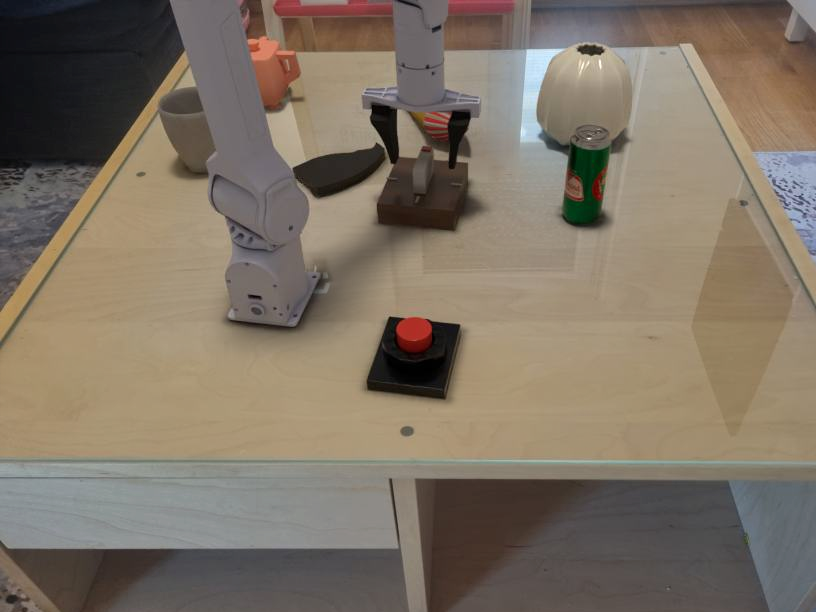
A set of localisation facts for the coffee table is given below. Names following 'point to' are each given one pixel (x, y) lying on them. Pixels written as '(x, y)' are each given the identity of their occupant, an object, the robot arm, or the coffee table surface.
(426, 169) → the dial knob
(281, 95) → the teapot
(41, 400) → the coffee table surface
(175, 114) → the mug
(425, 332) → the button
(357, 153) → the fan shaped piece
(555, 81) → the vase
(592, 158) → the soda can
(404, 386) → the button block
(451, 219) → the dial panel
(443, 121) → the ice cream cone
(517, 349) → the coffee table surface
